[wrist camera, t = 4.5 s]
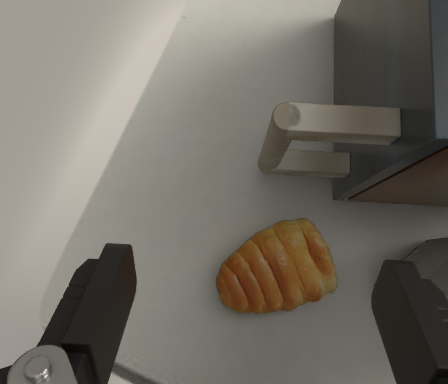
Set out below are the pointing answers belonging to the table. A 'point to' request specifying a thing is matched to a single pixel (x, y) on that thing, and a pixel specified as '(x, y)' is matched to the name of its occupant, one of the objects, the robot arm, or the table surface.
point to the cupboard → (413, 183)
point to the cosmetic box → (432, 262)
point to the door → (371, 98)
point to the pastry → (278, 270)
